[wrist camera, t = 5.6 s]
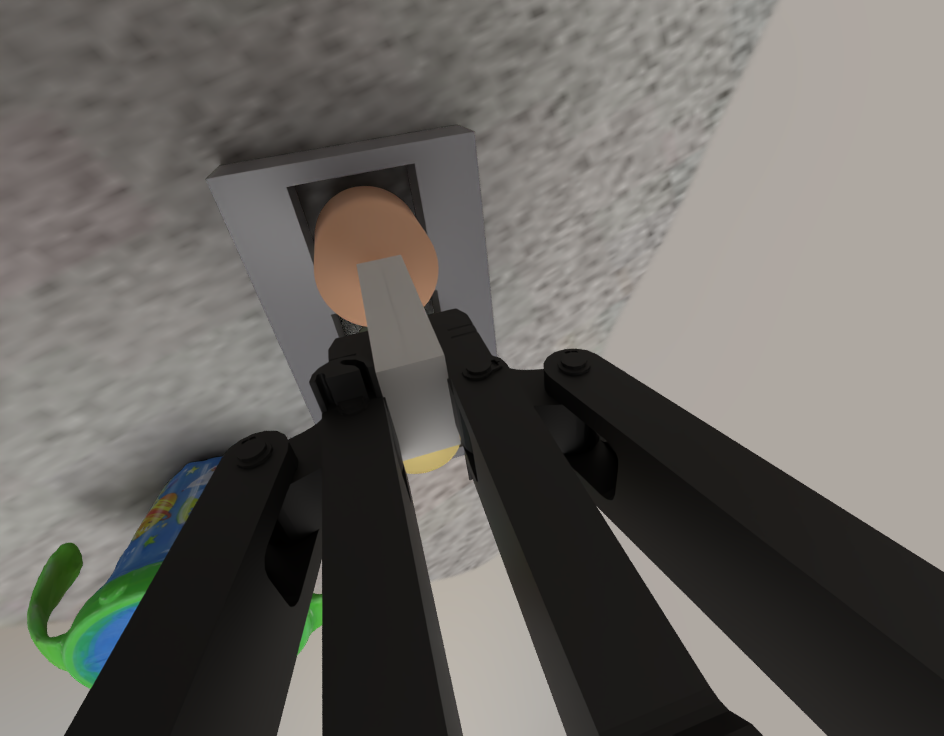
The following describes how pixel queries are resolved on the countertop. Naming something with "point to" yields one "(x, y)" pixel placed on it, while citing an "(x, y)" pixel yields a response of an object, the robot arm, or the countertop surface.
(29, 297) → the countertop surface
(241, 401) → the countertop surface
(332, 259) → the button terracotta
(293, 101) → the countertop surface
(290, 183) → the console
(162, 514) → the snack cup
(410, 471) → the button mustard
